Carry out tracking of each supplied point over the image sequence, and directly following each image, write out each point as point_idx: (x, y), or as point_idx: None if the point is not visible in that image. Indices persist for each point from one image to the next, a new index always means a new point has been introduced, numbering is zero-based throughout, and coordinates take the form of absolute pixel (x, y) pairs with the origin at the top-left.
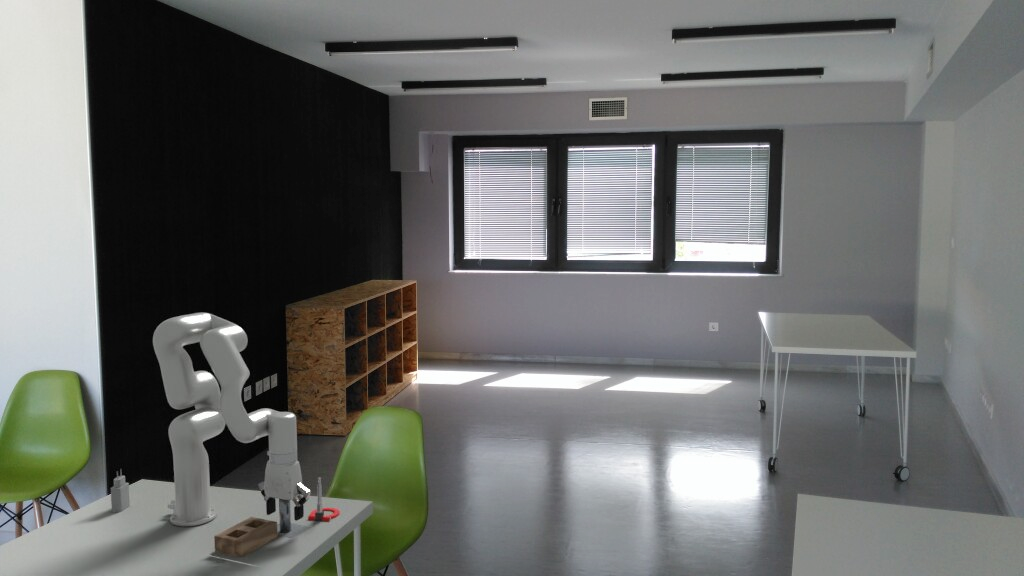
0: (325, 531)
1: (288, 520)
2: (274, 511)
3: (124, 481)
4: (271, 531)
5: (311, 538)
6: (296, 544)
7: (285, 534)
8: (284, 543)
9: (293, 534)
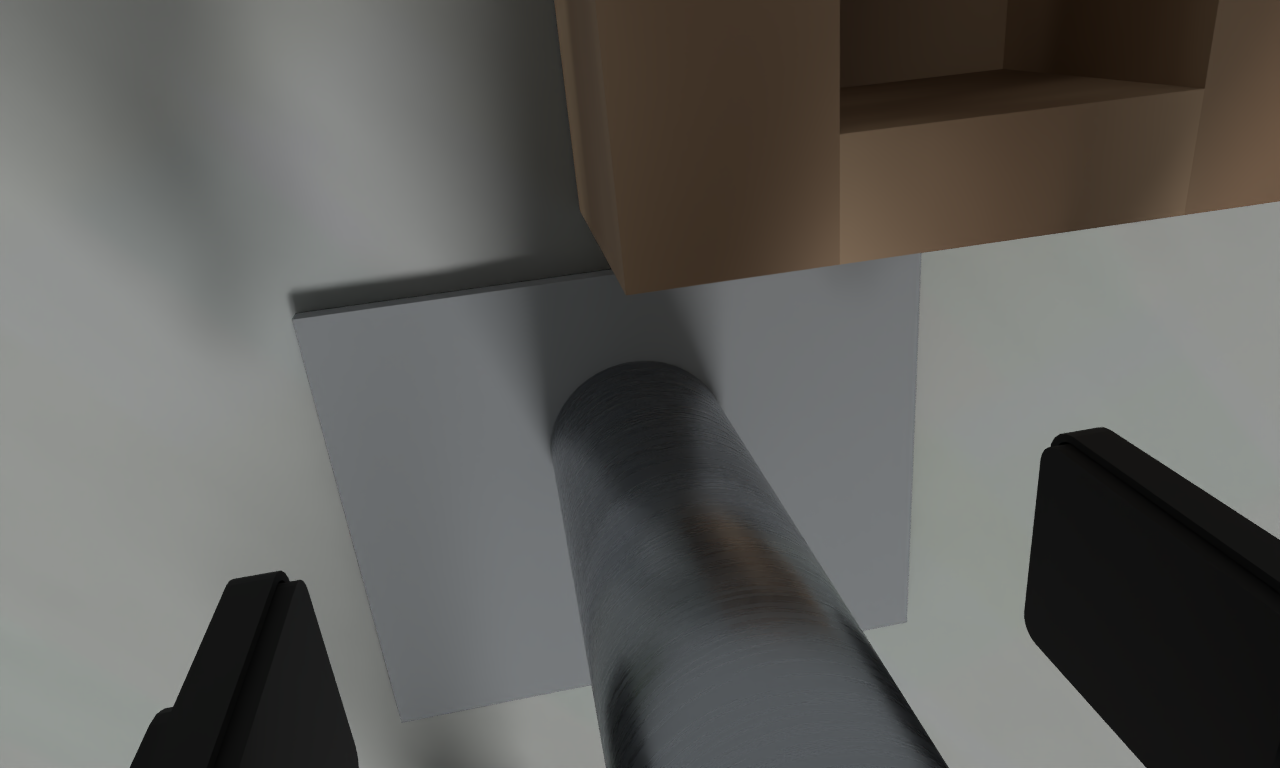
0: (114, 755)
1: (573, 553)
2: (1034, 603)
3: None
4: (582, 58)
5: (43, 493)
6: (15, 178)
7: (524, 347)
8: (256, 90)
9: (404, 417)
